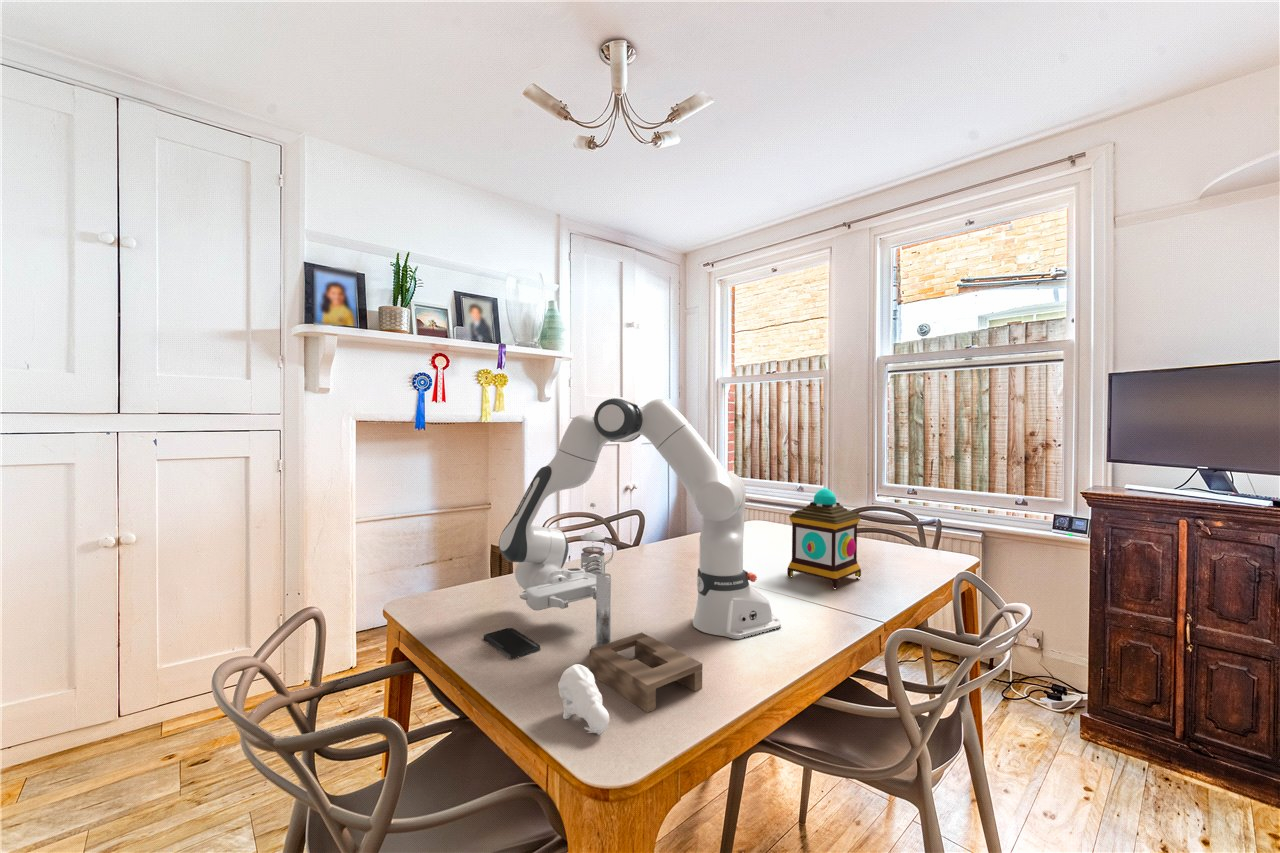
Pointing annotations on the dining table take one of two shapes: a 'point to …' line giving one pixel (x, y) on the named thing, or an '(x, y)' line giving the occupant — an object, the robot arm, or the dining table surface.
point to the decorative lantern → (824, 539)
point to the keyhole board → (643, 668)
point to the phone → (511, 643)
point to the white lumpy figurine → (583, 698)
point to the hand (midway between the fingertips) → (582, 600)
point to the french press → (594, 550)
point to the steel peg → (603, 609)
